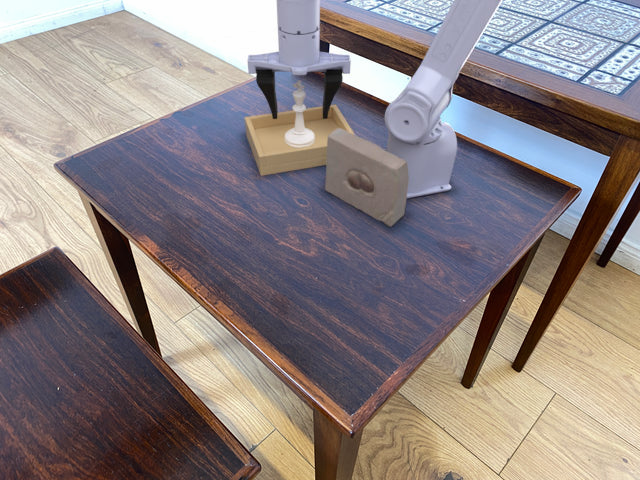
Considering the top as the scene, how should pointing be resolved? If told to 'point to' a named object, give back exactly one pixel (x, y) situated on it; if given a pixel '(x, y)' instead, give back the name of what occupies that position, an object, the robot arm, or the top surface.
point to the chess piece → (299, 122)
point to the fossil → (366, 176)
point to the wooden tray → (279, 155)
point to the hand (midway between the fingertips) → (300, 115)
